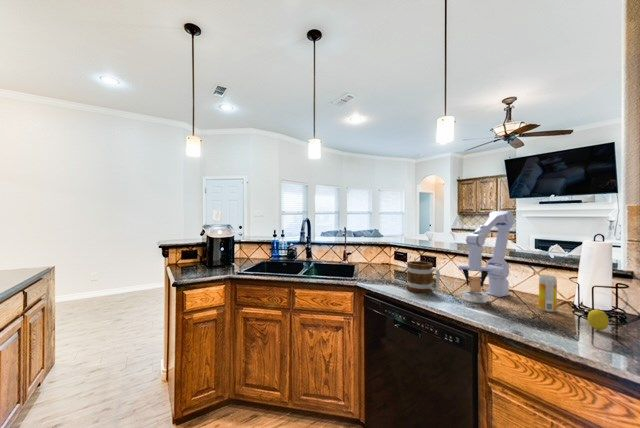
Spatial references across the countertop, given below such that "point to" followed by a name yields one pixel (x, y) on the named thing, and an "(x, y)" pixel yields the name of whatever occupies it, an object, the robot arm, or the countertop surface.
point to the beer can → (547, 293)
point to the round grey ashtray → (475, 296)
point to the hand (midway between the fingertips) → (474, 285)
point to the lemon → (598, 319)
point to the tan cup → (475, 283)
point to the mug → (421, 277)
